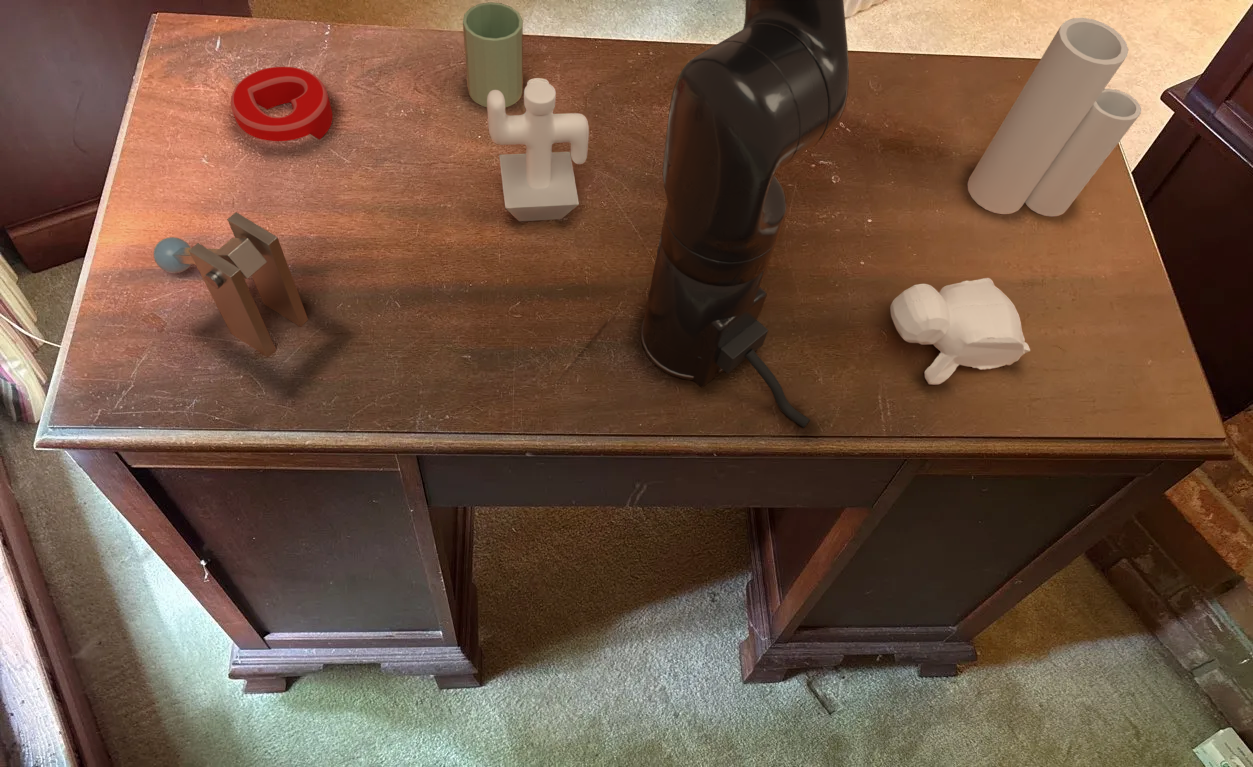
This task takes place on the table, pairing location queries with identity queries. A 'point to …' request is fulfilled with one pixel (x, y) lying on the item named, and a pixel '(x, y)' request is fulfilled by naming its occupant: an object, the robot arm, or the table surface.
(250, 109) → the decorative ornament
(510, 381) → the table surface
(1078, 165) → the vase
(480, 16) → the cup
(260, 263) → the ball-ended lever
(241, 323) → the brown upright slabs
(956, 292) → the white low-poly sculpture
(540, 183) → the figurine
